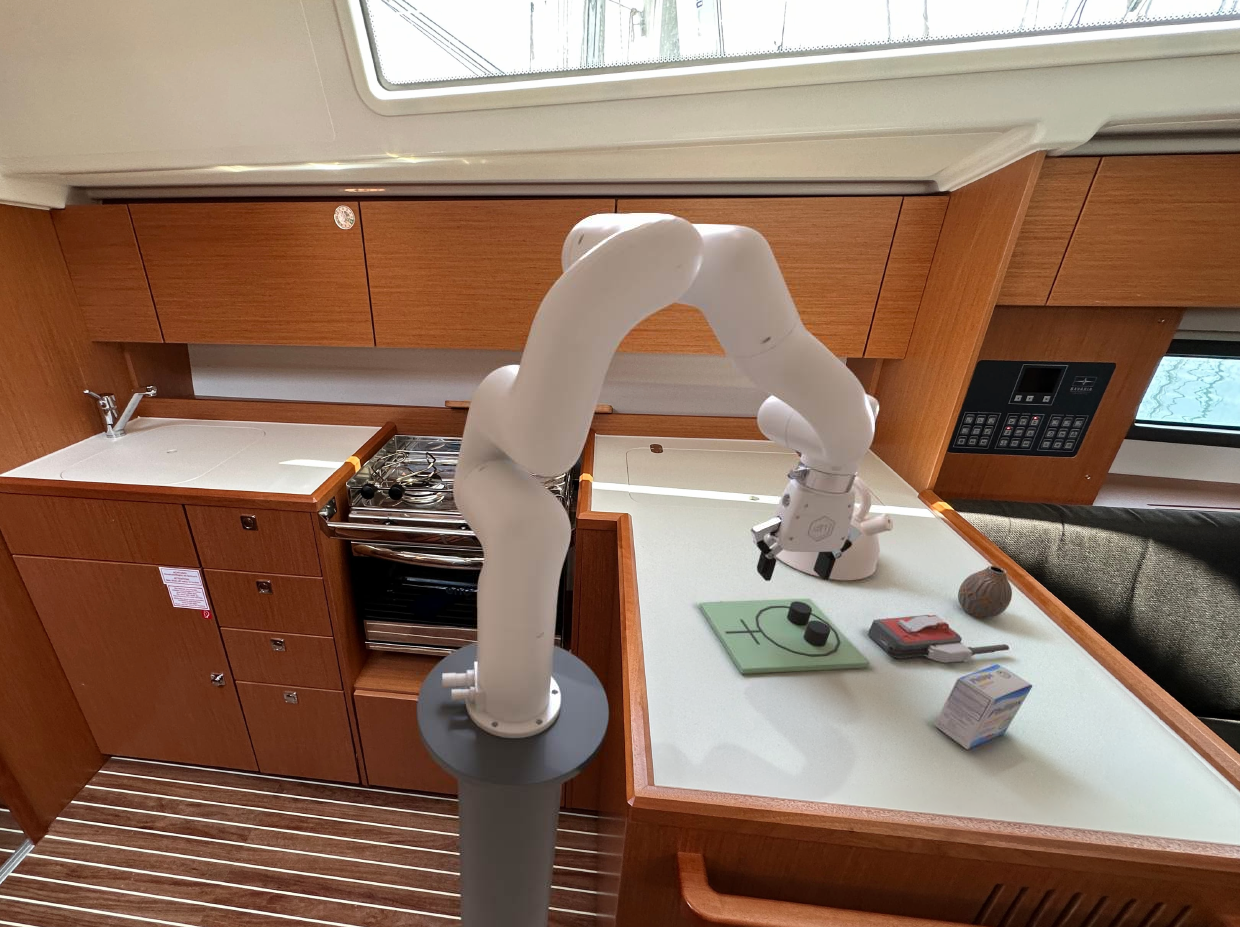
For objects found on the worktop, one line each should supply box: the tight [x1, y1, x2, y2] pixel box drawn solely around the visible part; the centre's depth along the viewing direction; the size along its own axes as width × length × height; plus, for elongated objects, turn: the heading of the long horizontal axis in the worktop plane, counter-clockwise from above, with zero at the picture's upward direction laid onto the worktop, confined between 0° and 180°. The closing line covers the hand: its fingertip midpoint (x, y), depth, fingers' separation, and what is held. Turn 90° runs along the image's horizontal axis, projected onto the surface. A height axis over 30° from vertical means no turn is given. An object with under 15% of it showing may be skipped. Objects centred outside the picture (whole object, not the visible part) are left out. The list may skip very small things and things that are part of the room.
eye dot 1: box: [787, 601, 812, 626], centre depth 91 cm, size 3×3×3 cm
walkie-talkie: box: [867, 614, 1010, 664], centre depth 88 cm, size 9×4×20 cm
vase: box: [957, 565, 1013, 619], centre depth 96 cm, size 7×7×9 cm
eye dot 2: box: [804, 621, 830, 647], centre depth 87 cm, size 3×3×3 cm
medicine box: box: [934, 663, 1033, 750], centre depth 72 cm, size 8×4×9 cm, turn 112°
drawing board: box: [698, 598, 870, 675], centre depth 90 cm, size 20×16×1 cm
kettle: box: [766, 473, 894, 582], centre depth 109 cm, size 20×21×18 cm
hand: (792, 575), depth 89 cm, fingers open, 9 cm apart
